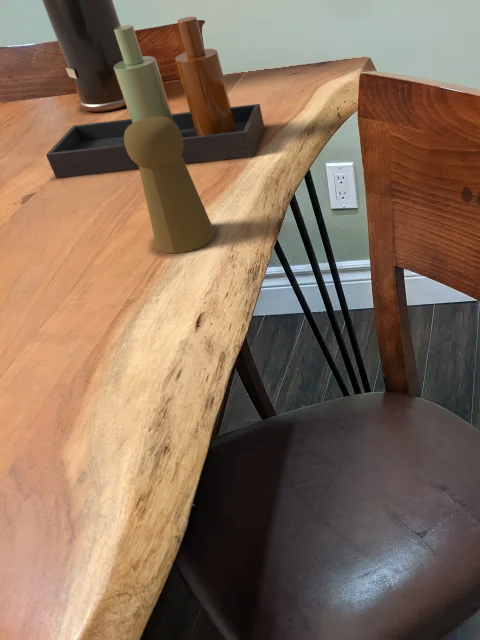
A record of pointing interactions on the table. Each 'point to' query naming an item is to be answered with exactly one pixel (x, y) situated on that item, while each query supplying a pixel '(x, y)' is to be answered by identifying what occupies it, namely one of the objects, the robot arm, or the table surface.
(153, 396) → the table surface
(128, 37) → the sage bottle
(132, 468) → the table surface
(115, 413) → the table surface
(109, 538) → the table surface
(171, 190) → the olive peg figure
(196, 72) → the amber bottle
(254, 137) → the tray
